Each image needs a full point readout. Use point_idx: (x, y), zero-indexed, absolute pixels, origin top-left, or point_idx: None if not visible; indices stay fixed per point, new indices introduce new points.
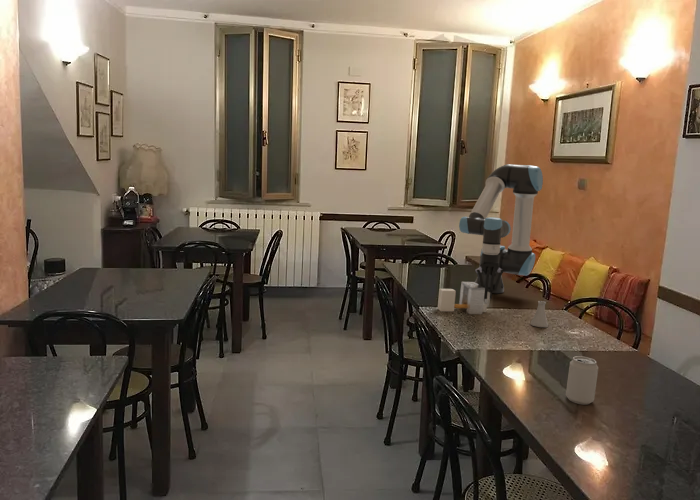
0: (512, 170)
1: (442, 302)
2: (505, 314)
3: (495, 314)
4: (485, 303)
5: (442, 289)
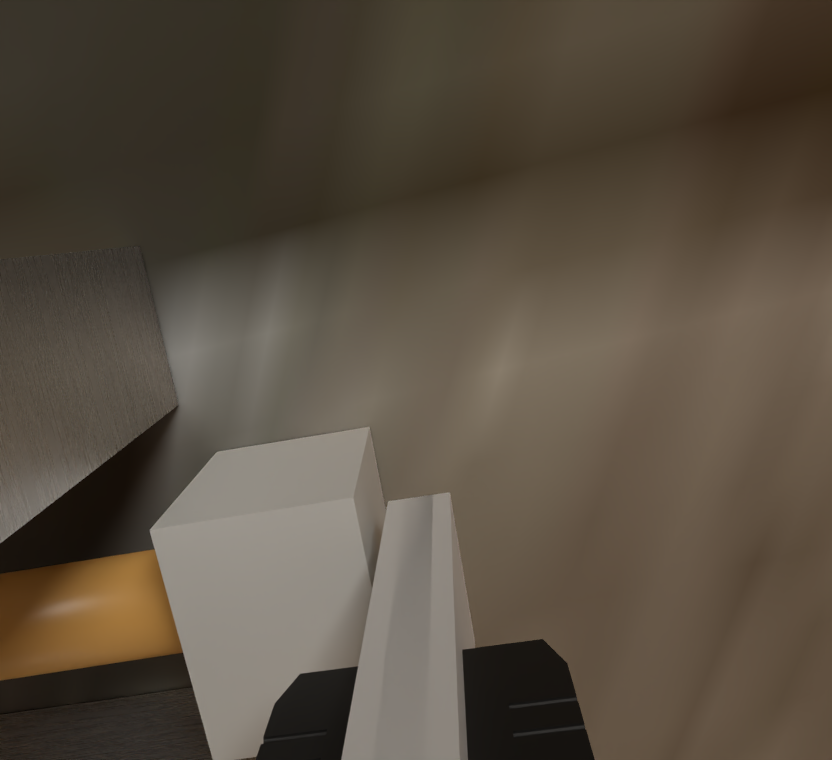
0: None
1: None
2: (780, 709)
3: None
4: None
5: None
